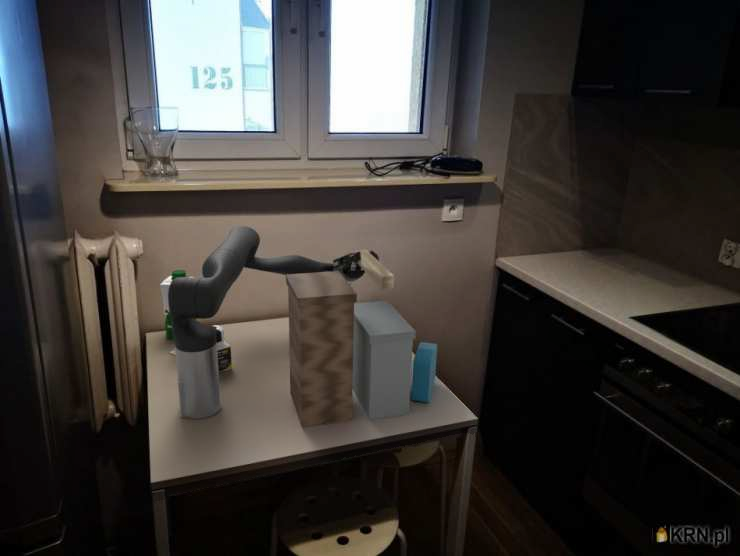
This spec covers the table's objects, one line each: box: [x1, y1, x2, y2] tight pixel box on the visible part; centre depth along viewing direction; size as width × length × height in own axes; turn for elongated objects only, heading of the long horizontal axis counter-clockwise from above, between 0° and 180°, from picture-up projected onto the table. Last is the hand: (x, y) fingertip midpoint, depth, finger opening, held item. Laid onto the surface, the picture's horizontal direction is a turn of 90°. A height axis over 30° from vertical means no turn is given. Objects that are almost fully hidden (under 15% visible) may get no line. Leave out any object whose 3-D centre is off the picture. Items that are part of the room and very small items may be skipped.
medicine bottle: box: [208, 324, 233, 373], centre depth 154 cm, size 7×7×12 cm
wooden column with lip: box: [285, 271, 358, 428], centre depth 133 cm, size 13×16×32 cm
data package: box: [410, 341, 438, 404], centre depth 145 cm, size 12×4×12 cm, turn 166°
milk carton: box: [159, 269, 194, 340], centre depth 173 cm, size 9×9×20 cm
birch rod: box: [354, 249, 395, 290], centre depth 140 cm, size 3×22×3 cm, turn 17°
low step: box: [352, 300, 417, 421], centre depth 140 cm, size 11×20×22 cm, turn 17°
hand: (365, 254), depth 145 cm, fingers closed on birch rod, 3 cm apart
